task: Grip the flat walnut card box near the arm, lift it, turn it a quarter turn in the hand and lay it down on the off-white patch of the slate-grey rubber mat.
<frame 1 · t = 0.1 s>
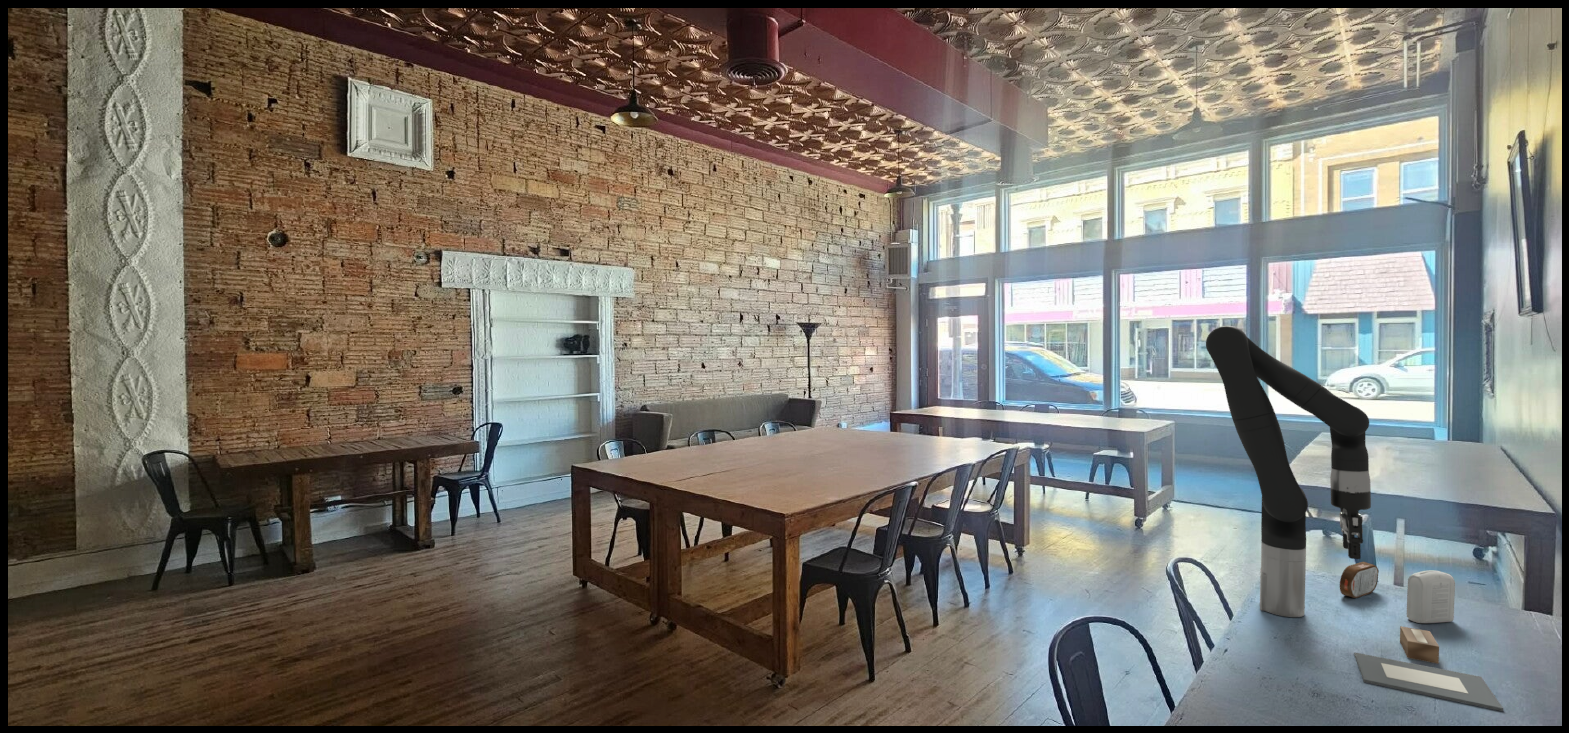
hand: (1351, 553, 165), 17 cm above the table, tool pointing down, fingers open, 8 cm apart
card box: (1418, 653, 150), on the table
mat: (1422, 681, 138), on the table
tin: (1359, 595, 184), on the table
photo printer: (1429, 621, 167), on the table
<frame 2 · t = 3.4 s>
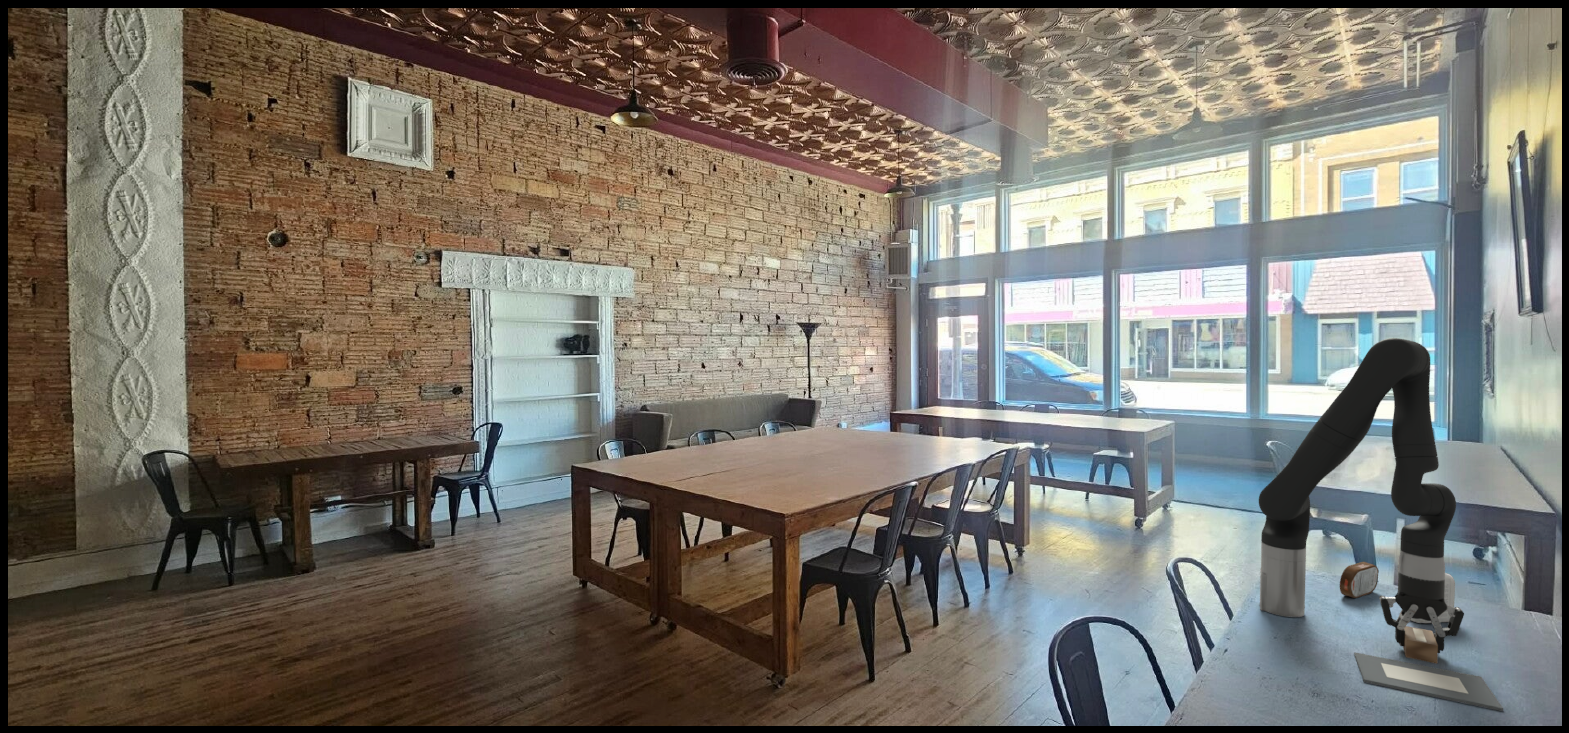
hand: (1419, 648, 150), 1 cm above the table, tool pointing down, fingers closed on card box, 5 cm apart
card box: (1418, 652, 150), on the table, touching gripper
everything else where it was.
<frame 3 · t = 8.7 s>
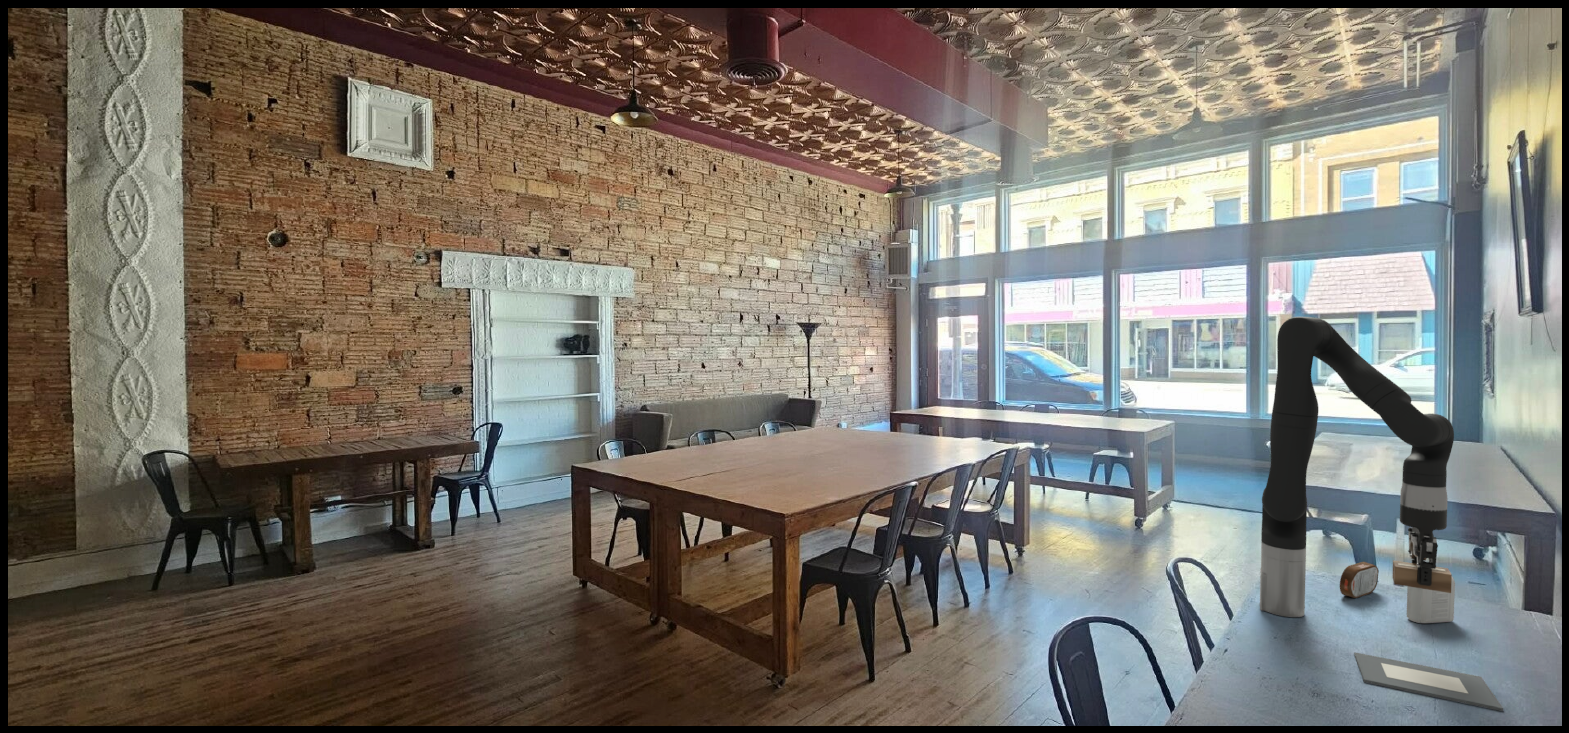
hand: (1421, 580, 149), 16 cm above the table, tool pointing down, fingers closed on card box, 5 cm apart
card box: (1420, 585, 149), point 15 cm above the table, touching gripper
everything else where it was.
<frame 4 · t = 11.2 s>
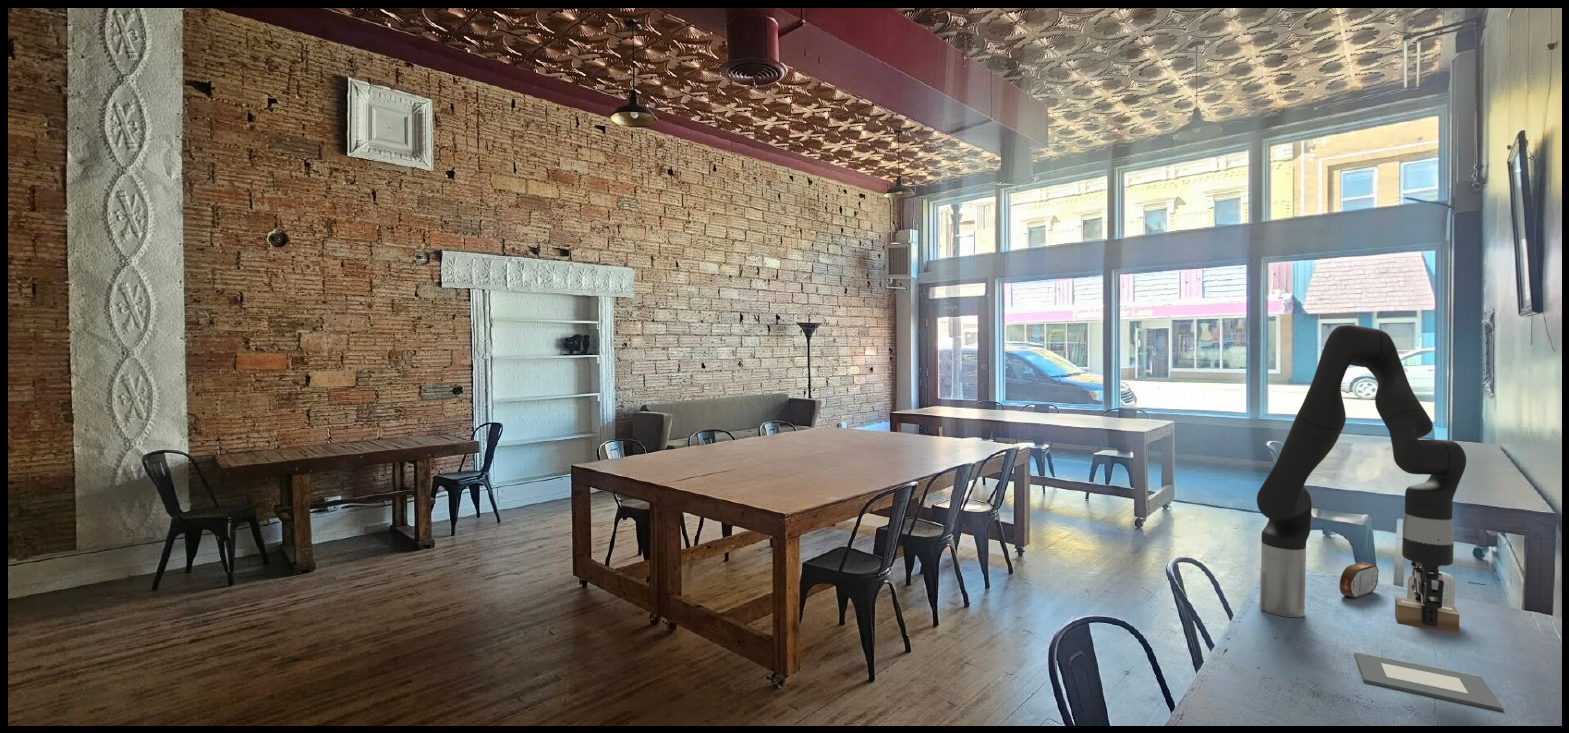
hand: (1425, 619, 138), 13 cm above the table, tool pointing down, fingers closed on card box, 5 cm apart
card box: (1425, 624, 138), point 12 cm above the table, touching gripper
everything else where it was.
when the fingers open (3 cm above the table, at t = 13.8 s): card box stays where it is, resting on mat.
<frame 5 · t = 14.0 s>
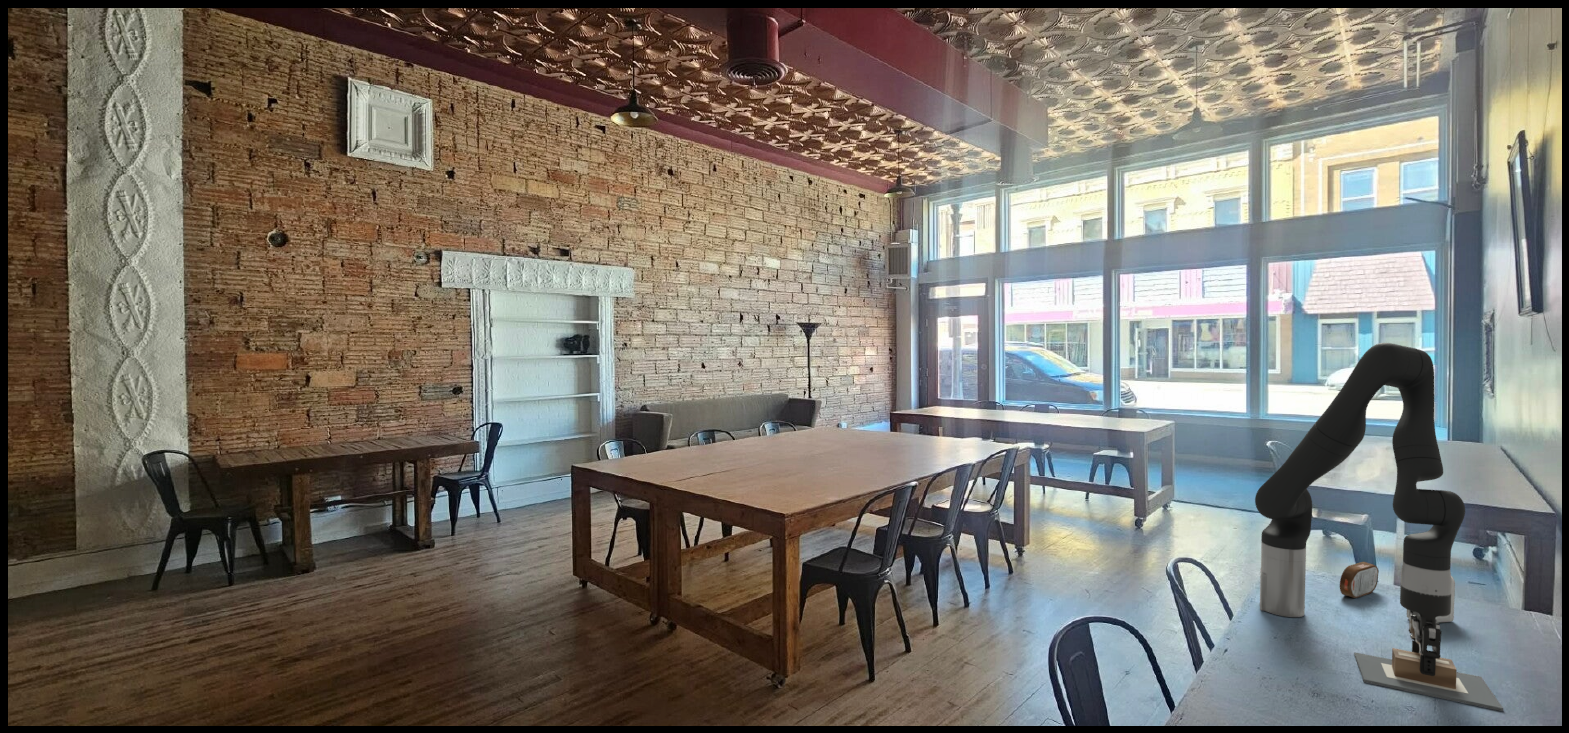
hand: (1423, 666, 138), 3 cm above the table, tool pointing down, fingers open, 7 cm apart
card box: (1422, 677, 138), point 1 cm above the table, touching mat
everything else where it was.
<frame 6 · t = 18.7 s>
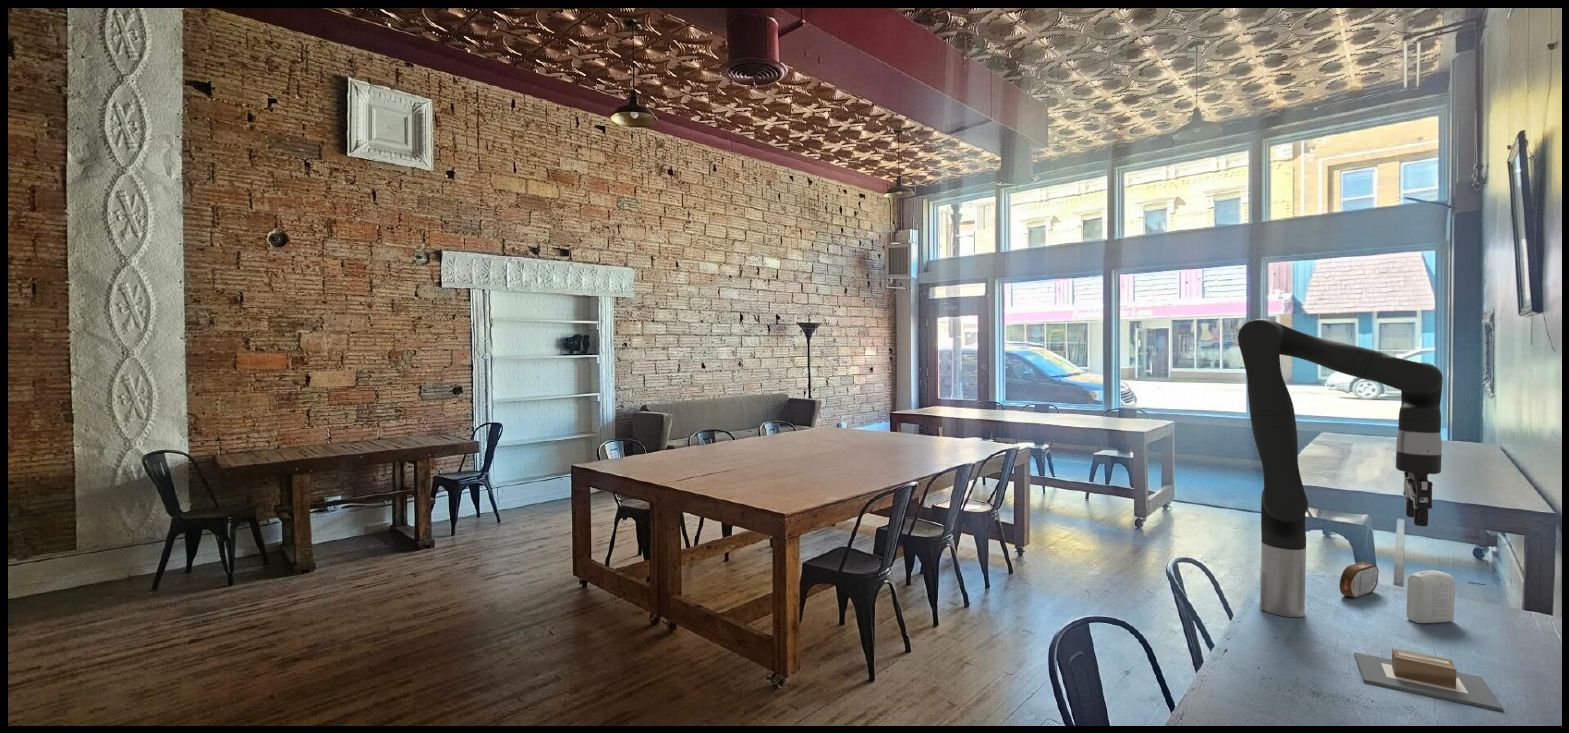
hand: (1416, 521, 154), 28 cm above the table, tool pointing down, fingers open, 8 cm apart
nothing on the table moved.
at the end: card box inside the target area on the mat (0.0 cm from its centre), point 0.7 cm above the mat's base; card box tilted 0°; the gripper is holding nothing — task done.
